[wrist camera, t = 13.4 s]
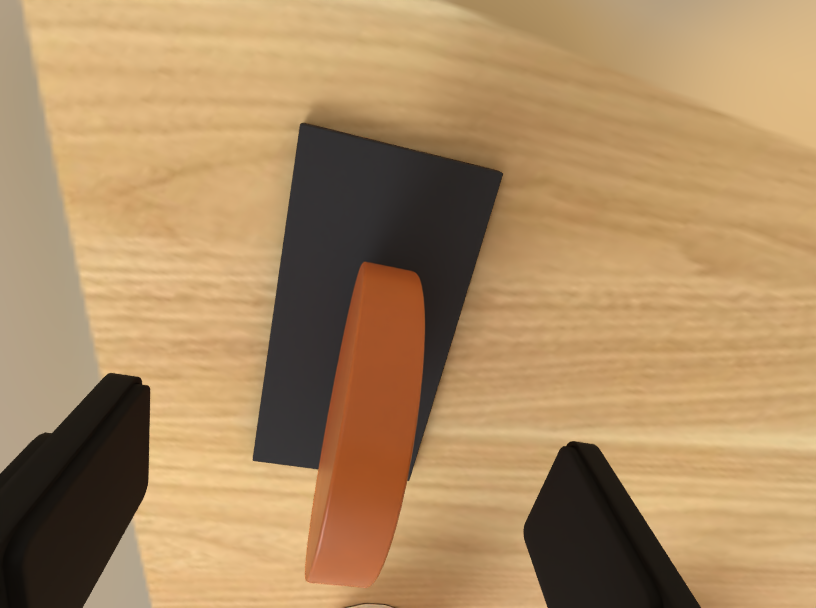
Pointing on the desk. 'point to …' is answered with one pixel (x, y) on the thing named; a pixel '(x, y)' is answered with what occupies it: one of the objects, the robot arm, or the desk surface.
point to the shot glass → (370, 606)
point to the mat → (341, 260)
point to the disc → (368, 429)
